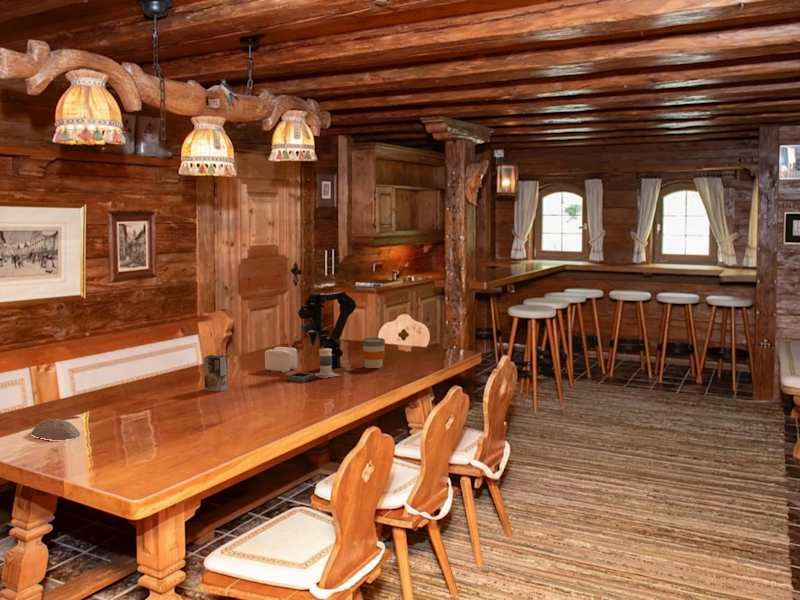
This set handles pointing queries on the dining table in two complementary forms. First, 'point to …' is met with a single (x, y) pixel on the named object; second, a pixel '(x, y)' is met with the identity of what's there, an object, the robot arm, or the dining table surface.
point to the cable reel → (325, 362)
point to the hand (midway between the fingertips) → (316, 346)
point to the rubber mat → (326, 376)
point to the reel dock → (300, 377)
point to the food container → (55, 430)
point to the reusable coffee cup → (373, 352)
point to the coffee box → (215, 373)
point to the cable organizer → (281, 359)
